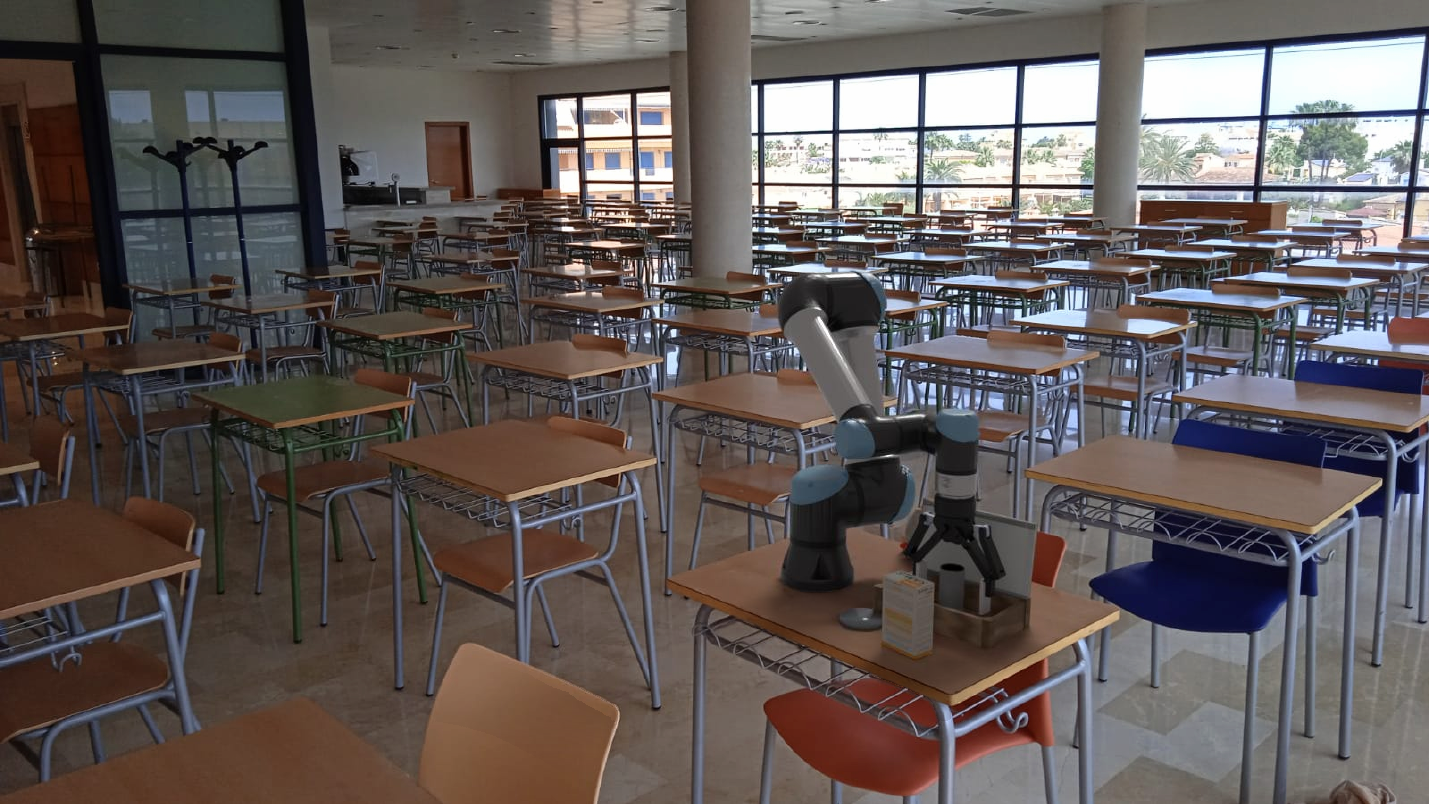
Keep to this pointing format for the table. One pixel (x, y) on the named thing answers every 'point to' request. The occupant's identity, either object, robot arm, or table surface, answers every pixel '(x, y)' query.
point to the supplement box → (908, 614)
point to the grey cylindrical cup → (951, 586)
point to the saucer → (861, 619)
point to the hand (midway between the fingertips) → (951, 603)
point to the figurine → (910, 528)
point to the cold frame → (969, 628)
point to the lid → (1011, 544)
